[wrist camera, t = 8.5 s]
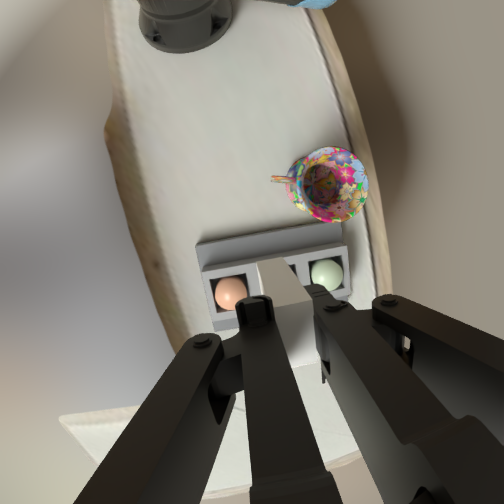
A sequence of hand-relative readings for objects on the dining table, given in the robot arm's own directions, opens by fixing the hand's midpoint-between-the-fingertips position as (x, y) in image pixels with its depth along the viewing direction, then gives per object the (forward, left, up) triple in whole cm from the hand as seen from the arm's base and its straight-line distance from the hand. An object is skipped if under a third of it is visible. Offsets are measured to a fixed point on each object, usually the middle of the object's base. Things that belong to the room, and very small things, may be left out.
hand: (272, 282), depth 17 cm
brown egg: (+9, -4, -27) cm, 29 cm away
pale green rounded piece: (+9, +10, -27) cm, 30 cm away
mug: (-4, +9, -30) cm, 31 cm away
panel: (+9, +3, -29) cm, 31 cm away
